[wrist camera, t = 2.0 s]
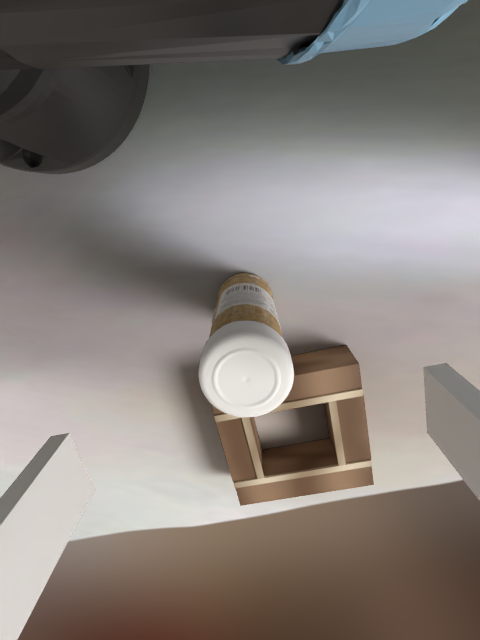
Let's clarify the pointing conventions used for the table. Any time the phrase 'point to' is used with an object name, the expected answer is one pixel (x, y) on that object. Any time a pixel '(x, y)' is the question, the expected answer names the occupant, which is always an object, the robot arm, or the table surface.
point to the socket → (311, 457)
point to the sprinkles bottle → (245, 351)
